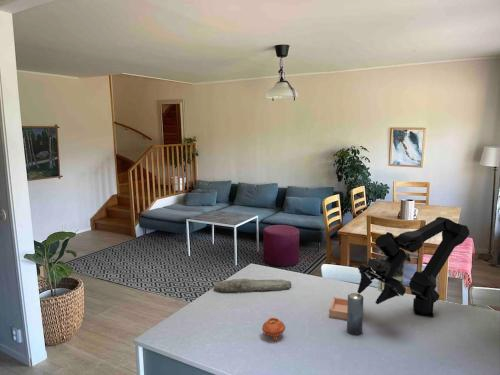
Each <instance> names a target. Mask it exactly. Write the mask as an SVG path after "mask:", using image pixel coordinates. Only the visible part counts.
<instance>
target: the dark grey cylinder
mask: <svg viewBox="0 0 500 375" xmlns="http://www.w3.org/2000/svg"><path fill="white" fill-rule="evenodd" d="M347 299H348V308H347V320H346V333H348V334H349V335H351V336H355V337H356V336H361V335H362V334H363V321H364V320H363V317H364V316H363V315H364V296H363V295H362V294H361V293H360V294H359V293H358V292H357V293H356V292H354V293H350V294H347Z"/></svg>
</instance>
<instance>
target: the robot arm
mask: <svg viewBox="0 0 500 375" xmlns="http://www.w3.org/2000/svg"><path fill="white" fill-rule="evenodd" d="M440 233H441V241H440V243H439V244H438V247H437V248H436V249H435V251H434V252H433V254H432V256H431V258H429V261H428V262H427V263H426V266H424V268H423V270H421V271H418V270H417V271H415V272H414V273H413V276H412V277H411V278H410V279H409V280H410V281H409V283H408V284H409V290H410V293H411V295H414V296H415V297H414V298H413V300H412V302H413V303H412V310H413V311H414V315H417V316H423V317H431V318H434V316H435V314H434V306H435V304H434V303H436V302H437V301H439V298H440V294H439V292H437V291H436V287H437V277H438V276H439V274H440V272H441V270H442V269H443V267H444V265H445V264H446V262H447V261H448V259H449V257H450V256H451V255H452V252H453V251H454V249H455V248H456V247H458V246H459V245H462V244H463V243H464V242H465V241H466V240H467V238H468V237H469V235H470V230H469V227H468V226H467V225H466V224H462V223H457V222H455V221H453V220H452V219H450V218H448V217H447V218H446V217H444V216H437V217H436V218H435V219H434V220H432V221H430V222H428V223H427V224H425V225H422V226H421V227H419V228H418V229H415V230H409V231H405V232H404V231H403V232H402V233H400V234H398V236H394V234H393V233H392V232H388V231H386V233H384V234H380V235H379V236H377V237H376V239H375V241H374V242H375V243H374V244H375V246H376V247H377V248H378V249H379V250H380V252H381V253H382V254H383V256H387V257H386V259H385V260H383V259H381V260H380V261H378V260H376V259H374V258H371V257H369V258H368V260H367V262H366V264H364V263H363V264H360V265H359V267H358V268H357V270H359V271H358V272H359V274H360V282H359V284H358V288H357V294H360V295H361V293H362V292H364V291H365V290H366V289H367V288H368V287H369V286H370V285H371V284H372V283H373V280H377V281H378V282H379V281H381V282H383V283H385V285H384V290H383V291H382V292H381V293H380V294H379V296H377V298H376V300H375V301H374V302H375V304H376V305H379V304H381V303H384V302H385V301H387V300H390V299H392V298H394V297H400V296H401V297H403V296H405V294H406V293H407V292H406V291H407V288H406V287H405V285H404V284H402V283H401V282H400V281H398V280H396V279H394V278H393V277H394V275H395V274H399V273H400V272H399V271H398V270H399V269H400V267H401V266H402V264H403V263H404V264H405V262H408V263H410V262H411V260H412V259H411V254H410V253H413V254H414V253H416V252H418V251H419V250H420V249H421V248H422V247H423V245H424V243H425V242H426V241H428V240H430V239H431V238H433V237H435V236H436V235H439V234H440ZM408 252H409V253H408ZM384 280H385V281H384Z"/></svg>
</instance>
